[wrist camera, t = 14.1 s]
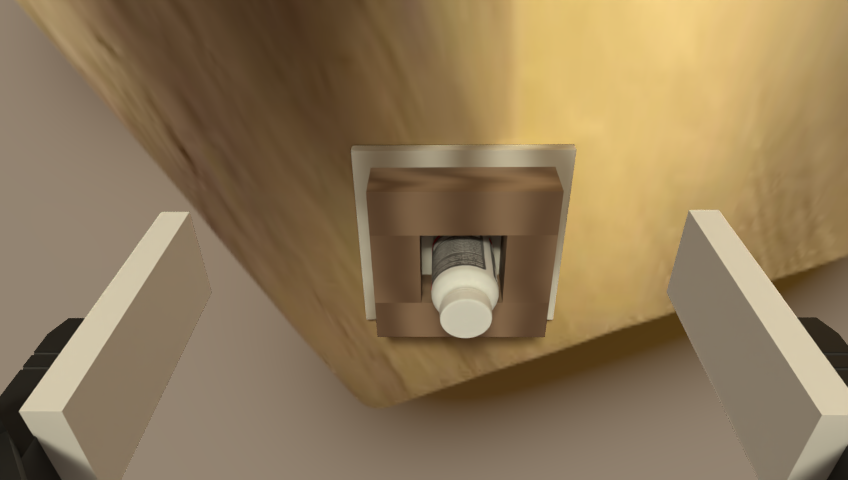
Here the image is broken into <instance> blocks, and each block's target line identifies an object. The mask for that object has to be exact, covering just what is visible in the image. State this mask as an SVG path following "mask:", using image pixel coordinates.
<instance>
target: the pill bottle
mask: <svg viewBox="0 0 848 480" xmlns="http://www.w3.org/2000/svg"><path fill="white" fill-rule="evenodd" d="M431 275H432V281H431V296H432V301H433V304H434V306H435V308H436V309H437V310H438V311H439V314H440V323H441V325H442V327H443V329H444V330H445V331H446V332H447V333H449V334H450V335H452V336H455V337H459V338H472V337H476V336H478V335H481V334H482V333H484V332H485V331H486V330H487V329H488V328H489V327H490V325H491V322H492V310H493V309H494V307H495V306H496V304H497V301H498V297H499V287H498V280H497V273H496V265H495V257H494V250H493V244H492V240H491V237H490V236H489V235H466V236H435V237H434V240H433V243H432V274H431Z"/></svg>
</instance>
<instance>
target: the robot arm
mask: <svg viewBox="0 0 848 480" xmlns="http://www.w3.org/2000/svg"><path fill="white" fill-rule="evenodd" d="M211 293H212V292H211V288H210V284H209V281H208V277H207V273H206V270H205V266H204V263H203V259H202V255H201V252H200V248H199V245H198V241H197V237H196V233H195V230H194V226H193V223H192V219H191V215H190V212H161V213H160V214H159V215H158V217H157V218H156V220H155V221H154V222H153V224H152V225H151V227H150V228H149V229H148V231H147V232H146V234H145V235H144V236H143V238H142V239H141V241H140V242H139V243H138V245H137V246H136V248H135V249H134V250H133V252H132V253H131V255H130V256H129V257H128V259H127V260H126V262H125V263H124V264H123V266H122V267H121V269H120V270H119V271H118V273H117V274H116V276H115V277H114V278H113V280H112V281H111V283H110V284H109V285H108V287H107V288H106V290H105V291H104V292H103V294H102V295H101V297H100V298H99V299H98V301H97V302H96V304H95V305H94V306H93V308H92V309H91V311H90V312H89V314H88V315H87V316H86V318H68V319H67V320H66V321H64V322H63V323H62V324H60V325H59V326H58V327H56V328H55V329H54V330H52V331H51V332H50V333H49V334H47V336H46V337H45V339H44V340H43V341H42V342H41V343H40V345H39V346H38V348H37V349H36V350H35V351H34V355H32V356H31V357H30V358H29V359H28V360H27V362H26V363H25V364H24V366H23V370H20V371H19V372H18V374H17V375H16V376H15V378H14V379H13V380H12V381H11V383H10V384H9V385H8V387H7V388H6V389H5V391H4V392H3V393H2V394H1V396H0V480H121V479H122V477H123V475H124V473H125V471H126V469H127V467H128V464H129V462H130V460H131V458H132V456H133V454H134V452H135V450H136V448H137V446H138V444H139V442H140V440H141V438H142V436H143V434H144V432H145V429H146V427H147V425H148V423H149V421H150V419H151V417H152V415H153V413H154V411H155V409H156V407H157V405H158V402H159V400H160V398H161V396H162V394H163V392H164V390H165V388H166V386H167V384H168V382H169V380H170V378H171V375H172V374H173V371H174V369H175V367H176V365H177V363H178V361H179V359H180V357H181V355H182V353H183V351H184V349H185V347H186V344H187V342H188V340H189V338H190V336H191V334H192V332H193V330H194V328H195V326H196V324H197V322H198V320H199V317H200V316H201V313H202V311H203V309H204V307H205V305H206V303H207V301H208V299H209V297H210V295H211ZM667 294H668V296H669V298H670V300H671V302H672V304H673V306H674V308H675V310H676V312H677V314H678V316H679V319H680V321H681V323H682V325H683V327H684V329H685V331H686V333H687V335H688V337H689V339H690V341H691V343H692V345H693V347H694V349H695V351H696V353H697V355H698V358H699V359H700V361H701V364H702V366H703V368H704V370H705V372H706V374H707V376H708V378H709V380H710V382H711V384H712V386H713V388H714V390H715V392H716V394H717V397H718V399H719V401H720V403H721V405H722V407H723V409H724V411H725V413H726V415H727V417H728V419H729V421H730V423H731V425H732V427H733V429H734V431H735V433H736V435H737V437H738V440H739V441H740V444H741V446H742V447H743V450H744V452H745V454H746V456H747V458H748V460H749V462H750V464H751V466H752V468H753V470H754V472H755V474H756V477H757V478H758V480H848V345H847V344H846V343H845V341H844V340H843V339H842V338H841V336H840V335H839V334H838V333H837V332H835V331H834V330H833V329H831V328H830V327H829V326H827V325H826V324H824V323H823V322H822V321H820V320H819V319H818V318H797V317H796V316H795V314H794V313H793V312H792V310H791V309H790V308H789V306H788V305H787V303H786V302H785V301H784V299H783V298H782V296H781V295H780V294H779V292H778V291H777V290H776V288H775V287H774V285H773V284H772V283H771V281H770V280H769V278H768V277H767V276H766V274H765V273H764V272H763V270H762V269H761V267H760V266H759V265H758V263H757V262H756V261H755V259H754V258H753V256H752V255H751V254H750V252H749V251H748V250H747V248H746V247H745V245H744V244H743V243H742V241H741V240H740V239H739V237H738V236H737V234H736V233H735V232H734V230H733V229H732V228H731V226H730V225H729V223H728V222H727V221H726V219H725V218H724V217H723V215H722V214H721V212H720V211H719V210H689V212H688V215H687V219H686V223H685V226H684V230H683V234H682V237H681V241H680V245H679V248H678V252H677V256H676V259H675V263H674V267H673V270H672V274H671V278H670V282H669V285H668V289H667Z"/></svg>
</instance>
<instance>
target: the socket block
mask: <svg viewBox="0 0 848 480" xmlns="http://www.w3.org/2000/svg"><path fill="white" fill-rule="evenodd" d="M575 156H576V148H575V145H574V144H543V145H382V146H352V149H351V158H352V168H353V179H354V190H355V201H356V212H357V222H358V233H359V244H360V255H361V265H362V276H363V287H364V298H365V309H366V319H376V323H377V335H378V337H455V336H452V335H450V334H449V333H447V332H446V331H445V330H444V329H443V327H442V325H441V323H440V314H439V311H438V310H437V309H436V308H435V306H434V304H433V301H432V296H431V281H432V275H431V274H432V243H433V240H434V237H435V236H466V235H489V236H490V237H491V240H492V244H493V250H494V257H495V265H496V273H497V280H498V287H499V297H498V301H497V304H496V306H495V307H494V309H493V310H492V322H491V325H490V327H489V328H488V329H487V330H486V331H485V332H484V333H482V334H481V335H478V336H476V337H545V331H546V323H547V320H553V315H554V307H555V300H556V293H557V286H558V279H559V271H560V264H561V257H562V250H563V243H564V235H565V228H566V221H567V214H568V207H569V199H570V192H571V185H572V178H573V171H574V163H575Z"/></svg>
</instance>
